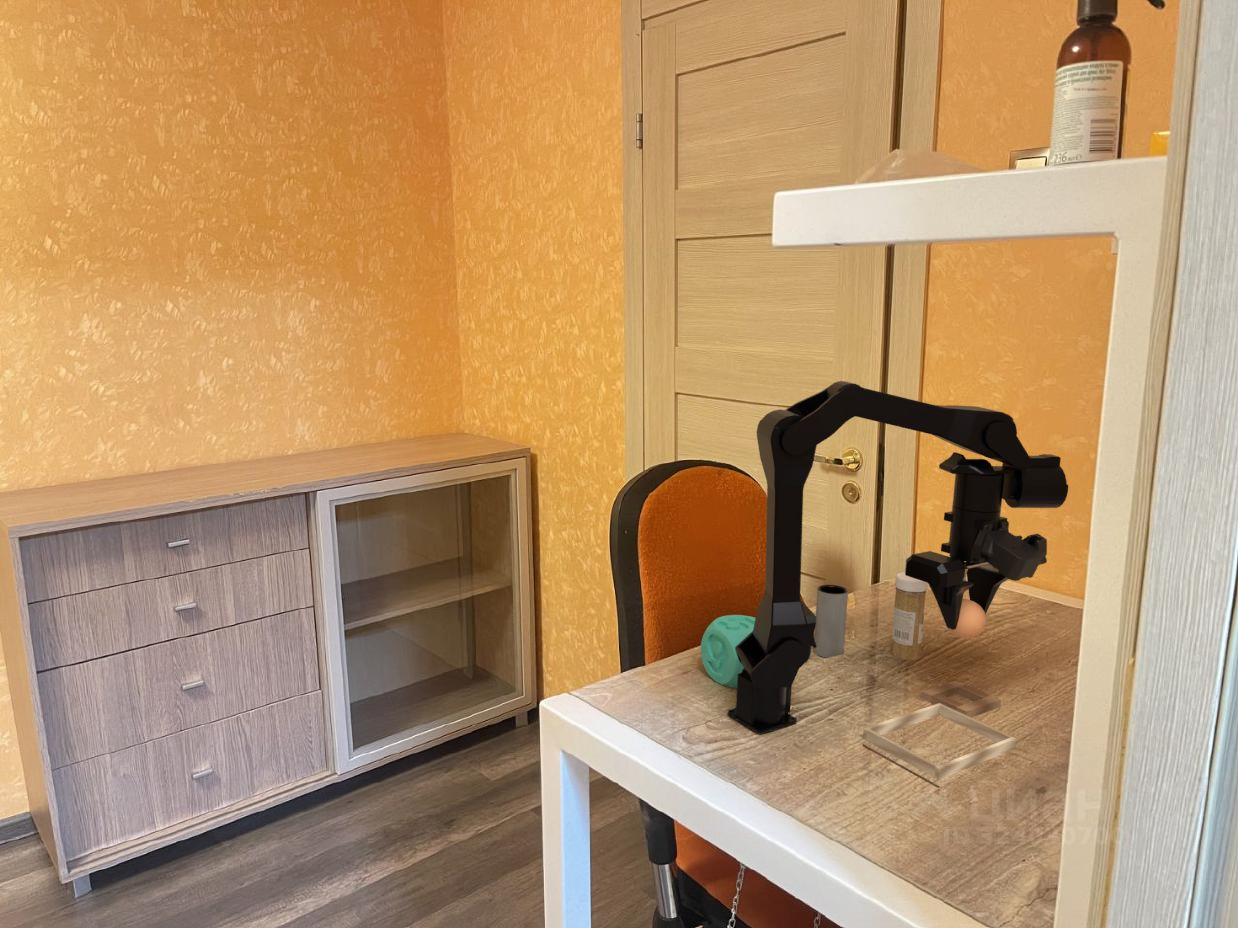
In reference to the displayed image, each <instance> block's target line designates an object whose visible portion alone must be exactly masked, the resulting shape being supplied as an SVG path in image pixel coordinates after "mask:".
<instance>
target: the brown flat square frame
mask: <svg viewBox="0 0 1238 928" xmlns="http://www.w3.org/2000/svg"><path fill="white" fill-rule="evenodd" d="M956 695H958V696H961V697H963V698H965V699H967V700H969V701H971V702H968V703H966V704H964V703H962V702H959V701H957V700H955V699H953V698H951V697H953V696H956ZM921 700H922V701H926V702H927V703H930V704H931V705H935V704H938V703H941V704H943V705H945V706H947V707H949V708H951V709H954V710H956V711H958V712H960V713H962V714H964V715H967V716H969V717H971V718H973V717H974V718H975V717H977V716H979V715H982V714H986V713H988V712H991V711H994V710H996V709H1000V708H1001V700H1002V699H999V698H997V697H995V696H992V695H990V694H988V693H986V692H983V691H981V690H978V689H977V688H974V687H972V686H970V685H967V684H964V683H962V682H960V681H958V680H954V681H953V680H952V681H950V682H947V683H944V684H941V685H937V686H935V687H932V688H928V689H925V690H921Z"/></svg>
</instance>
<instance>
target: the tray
mask: <svg viewBox="0 0 1238 928" xmlns="http://www.w3.org/2000/svg"><path fill="white" fill-rule="evenodd" d="M938 716H941V717H942V718H944V719H946V720H948V721H950V722H953V723H955V724H957V725H959V726H961V727H962V728H963V727H964V728H966V729H967V730H970V731H972V732H974V733H976V734H978V735H980V736H982V737H985V738H986V739H989V740H991V741H992V742H995V743H993V744H990V745H988V746H985V747H983V748H980V749H978V750H975V751H972V752H970V753H968V754H967V753H966V754H965V755H962V756H960V757H957V758H954V759H953V760H949V761H947V762H944V763H941V764H939V765H938V764H936V763H935V762H933V761H931V760H929V759H927V758H925V757H923V756H921V755H919V754H918V753H916V752H914V751H912V750H910V749H908V748H906V747H904V746H903V745H901V744H899V743H897V742H895V741H893V740H891V739H889V738H887V737H885V736H883V735H886V734H889V733H892V732H895V731H899V730H901V729H905V728H907V727H909V726H912V725H913V726H914V725H915V724H918V723H921V722H924V721H927V720H929V719H933V718H937V717H938ZM862 739H863V740H864V741H866V742H868V743H870V744H871V745H873V746H876V747H877V748H879V749H881V750H883V751H885V752H887V753H888V754H890V755H892V756H894V757H896V758H898V759H899V760H902V761H903V762H905V763H907V764H908V765H911V766H912V767H914V768H916V769H917V770H919V771H921V772H923V773H925V774H926V775H929V776H930V777H932V778H934V779H936V780H937V781H940V780H942V779H945V778H947V777H949V776H952V775H954V774H956V773H960V772H962V771H964V770H967V769H970V768H972V767H974V766H977V765H980V764H982V763H984V762H987V761H988V760H992V759H994V758H996V757H999V756H1001V755H1004V754H1007V753H1009V752H1012V751H1014V750H1016V747H1017V740H1018V739H1017V738H1016V737H1014V736H1012V735H1011V734H1008V733H1006V732H1003V731H1001V730H999V729H997V728H995V727H992V726H990V725H988V724H986V723H984V722H982V721H980V720H978V719H976V718H973V717H972V718H971V717H969V716H967V715H964V714H962V713H960V712H958V711H956V710H954V709H951V708H949V707H947V706H945V705H943V704H941V703H938V704H935V705H934V704H931V705H930V706H927V707H924V708H921V709H918V710H917V709H916V710H915V711H911V712H909V713H906V714H903V715H899V716H896V717H894V718H891V719H887V720H885V721H882V722H879V723H876V724H873V725H869V726H867V727H864V728H863V734H862ZM862 747H863V748H865V749H867V750H869V751H871V752H873V753H874V754H876V755H878V756H880V757H882V758H883V759H885V760H887V761H889V762H891V763H892V764H895V765H896V766H898V767H899V768H902V769H903V770H905V771H907V772H909V773H910V774H913V775H914V776H915V777H917V778H919V779H921V780H923V781H925V782H926V783H928V784H930V785H931V786H934V787H935V788H937V789H938V788H940V787H941V786H939V784H937V783H934V782H933V781H931V780H929V779H927V778H925V777H923V776H922V775H920V774H918V773H916V772H915V771H912V769H911V770H910V769H909V768H908V767H905V766H903V765H902V764H901V763H898V762H896V761H895V760H894V759H892V758H889V757H887V756H885V755H884V754H882V753H880V752H878V751H877V750H875V749H873V748H871V747H870V746H867V745H865V744H864V743H862Z"/></svg>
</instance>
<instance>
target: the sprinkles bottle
mask: <svg viewBox="0 0 1238 928" xmlns="http://www.w3.org/2000/svg"><path fill="white" fill-rule="evenodd" d="M894 584H895V585H894V586H895V597H894V598H895V599H894V608H893V618H892V619H893V620H892V621H893V622H892V633H891V639H892V641H891V642H892V643H891V655H892V656H893V657H894V658H896V659H899V660H903V661H918V660H920V659H921V657H922V644H923V639H924V638H923V636H924V623H925V622H924V619H925V604H926V603H925V602H926V593H927V590H928V586H929V584H928V583H927V582H924V581H921V580H918V579H915V578H912V577H909V576H906V575H905V571H904V572H903V571H901V572H899V573H897V574H896V575H895V583H894Z"/></svg>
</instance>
